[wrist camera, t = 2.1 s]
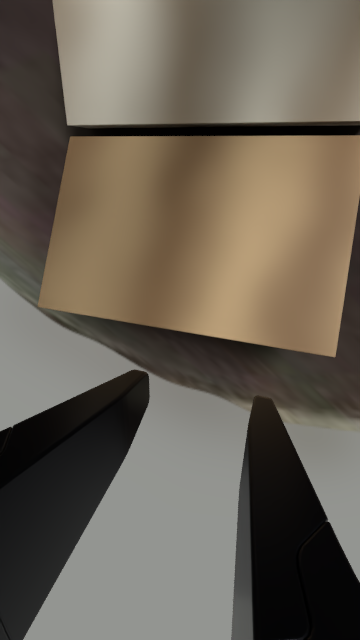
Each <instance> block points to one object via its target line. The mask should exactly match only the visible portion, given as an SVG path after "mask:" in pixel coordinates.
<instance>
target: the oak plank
mask: <svg viewBox="0 0 360 640" xmlns="http://www.w3.org/2000/svg"><path fill="white" fill-rule="evenodd" d="M359 196H360V136H71V137H70V140H69V145H68V151H67V156H66V161H65V166H64V171H63V177H62V182H61V187H60V192H59V197H58V203H57V208H56V213H55V218H54V224H53V229H52V234H51V239H50V244H49V250H48V255H47V260H46V265H45V270H44V276H43V281H42V286H41V291H40V297H39V302H38V307H41V308H47V309H52V310H57V311H63V312H69V313H75V314H81V315H87V316H92V317H98V318H104V319H110V320H116V321H122V322H128V323H134V324H140V325H146V326H151V327H157V328H163V329H169V330H175V331H181V332H187V333H193V334H199V335H205V336H210V337H216V338H222V339H228V340H234V341H240V342H246V343H252V344H258V345H264V346H269V347H275V348H281V349H287V350H293V351H299V352H305V353H311V354H317V355H323V356H329V357H335V356H336V349H337V342H338V336H339V329H340V322H341V316H342V309H343V303H344V296H345V289H346V283H347V276H348V269H349V263H350V256H351V249H352V243H353V236H354V230H355V223H356V216H357V210H358V203H359Z"/></svg>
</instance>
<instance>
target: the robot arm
mask: <svg viewBox="0 0 360 640" xmlns="http://www.w3.org/2000/svg"><path fill="white" fill-rule="evenodd" d="M148 403H149V376H148V374H147V372H144V371H139V370H131V371H129V372H127V373H125V374H123V375H121V376H118V377H116V378H114V379H112V380H110V381H108V382H105V383H103V384H101V385H99V386H97V387H95V388H93V389H90V390H88V391H86V392H84V393H82V394H80V395H78V396H76V397H73V398H71V399H70V400H67V401H65V402H63V403H60V404H58V405H56V406H54V407H52V408H50V409H48V410H45V411H43V412H41V413H39V414H37V415H35V416H33V417H31V418H28V419H26V420H24V421H22V422H20V423H18V424H16V425H14V426H13V428H12V427H9V428H7V429H5V430H2V431H0V640H23V639H24V637H25V635H26V633H27V631H28V630H29V628H30V626H31V624H32V622H33V621H34V619H35V617H36V615H37V614H38V612H39V610H40V608H41V607H42V605H43V603H44V601H45V599H46V598H47V596H48V594H49V592H50V591H51V589H52V587H53V585H54V583H55V582H56V580H57V578H58V576H59V575H60V573H61V571H62V569H63V567H64V566H65V564H66V562H67V560H68V559H69V557H70V555H71V553H72V551H73V550H74V548H75V546H76V544H77V543H78V541H79V539H80V537H81V535H82V534H83V532H84V530H85V528H86V527H87V525H88V523H89V521H90V519H91V518H92V516H93V514H94V512H95V511H96V508H97V507H98V505H99V503H100V501H101V500H102V498H103V496H104V494H105V493H106V491H107V489H108V487H109V486H110V484H111V482H112V480H113V479H114V477H115V475H116V473H117V471H118V470H119V468H120V466H121V464H122V463H123V461H124V459H125V457H126V455H127V453H128V451H129V448H130V446H131V444H132V441H133V439H134V437H135V434H136V432H137V430H138V427H139V425H140V423H141V420H142V418H143V415H144V413H145V411H146V408H147V406H148ZM327 521H328V518H327V516H326V514H325V512H324V509H323V507H322V505H321V503H320V501H319V499H318V497H317V494H316V492H315V490H314V488H313V486H312V484H311V482H310V479H309V478H308V475H307V473H306V471H305V469H304V467H303V464H302V462H301V460H300V458H299V456H298V454H297V452H296V449H295V447H294V445H293V443H292V441H291V439H290V437H289V435H288V433H287V430H286V428H285V426H284V424H283V422H282V420H281V417H280V415H279V413H278V411H277V409H276V407H275V405H274V402H273V400H272V399H271V398H267V397H262V396H255V397H254V400H253V405H252V410H251V414H250V419H249V423H248V430H247V438H246V444H245V452H244V459H243V467H242V473H241V481H240V489H239V503H238V522H237V542H236V561H235V580H234V599H233V618H232V637H231V640H360V582H359V580H358V579H357V577H356V575H355V573H354V571H353V569H352V567H351V565H350V563H349V561H348V559H347V558H346V555H345V553H344V551H343V549H342V547H341V545H340V543H339V541H338V539H337V537H336V535H335V533H334V531H333V528H332V526H331V524H330V523H329V522H327Z"/></svg>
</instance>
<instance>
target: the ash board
mask: <svg viewBox="0 0 360 640" xmlns="http://www.w3.org/2000/svg"><path fill="white" fill-rule="evenodd" d="M53 9H54V17H55V25H56V34H57V42H58V51H59V59H60V68H61V76H62V85H63V93H64V101H65V110H66V118H67V125H70V126H77V127H84V128H158V127H246V126H335V125H360V0H53Z"/></svg>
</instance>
